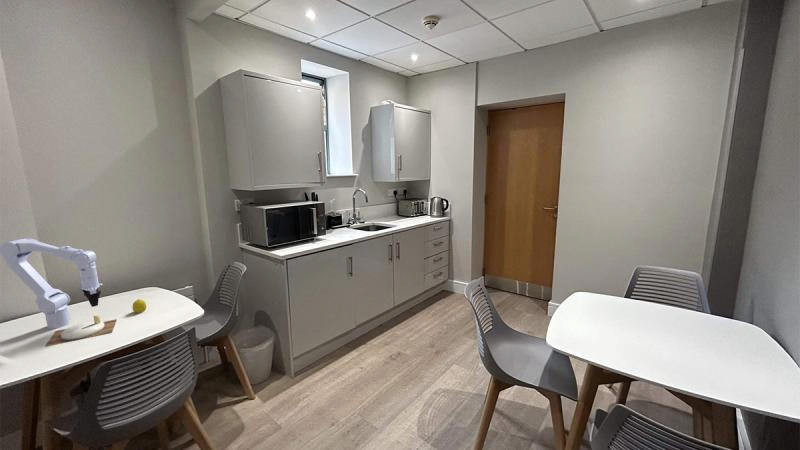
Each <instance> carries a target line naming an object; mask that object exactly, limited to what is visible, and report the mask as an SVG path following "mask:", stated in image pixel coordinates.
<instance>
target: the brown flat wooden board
mask: <svg viewBox="0 0 800 450" xmlns="http://www.w3.org/2000/svg"><path fill="white" fill-rule="evenodd" d="M117 320H118V319H117V318H115V319H112V320H106V321H102V322H103V323H104V326H105V327H104V329H103V330H102V331H100V332H98V333H96V334H94V335H91V336H88V337H84V338H80V339H74V340H64V339H62V338H61V332H63V331H64V330H66V329H67V328H63V329H60V330H55V331H54V333H53V334H52V336H50V338H49V339H48V341H47V343H45V345H44V348H46V347H47V348H48V347H51V346H52V347H53V346H55V345H61V344H65V343H70V342H71V343H72V342H76V341H81V340H84V339H89V338H94V337H95V338H96V337H99V336H106V335H108V334H110V335H111V334H113V331H114V328H115V326H116V324H117Z"/></svg>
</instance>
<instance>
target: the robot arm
mask: <svg viewBox="0 0 800 450" xmlns="http://www.w3.org/2000/svg"><path fill="white" fill-rule="evenodd" d="M32 252H37V253H44V254H50V255H55V257H56V259H60V260H65V261H68V262H72V263H74V264H75V265H76V266H77V269H78V272H79V273H78V274H79V278H80V282H81V290H82V291H81V292H82V293H83V295H84V296H85V297H86V298H87V300H88V302H89V305H90V306H91V307H92V308H93V307H94V308H95V307H97V306H99V298H100V295H101V293H102V291H101V290H99V287H101V286H103V283H100V282H99V277H98V272H97V265H96V261H97V259H98V255H97V254H98V253H96V252H95V251H94V250H91V249H87V250H83V249H80V248H79V249H78V248H73V247H72V246H70V245H66V246H65V245H64V246H61V247H58V246H54V245H51V244H48V243H45V242H41V241H38V240H37V239H34V238H29V237H23V238H20V239H19V238H18V239H15V240H11V241H5V242H2V243H1V244H0V255H1V257H3V260H4V262H5V264H6V266H7V267H8V268H9V269H10V270H11V271H12V272H13V273H14V274H15V275H16V276H17V278H19V279H20V280H21V281H22V282H23V283H24V284H25V286H27V287H28V289H30V290H31V292H33V293H34V294H35V295H36V299H35V301H34V302H35V303H36V304H37V306H38V307H37V308H38V310H39V311H40V312H42V313H43V315H44V317H45V322H46V327H47V329H48V330H52V329H54V330H55V329H59V328H62V327H65V326H68V325H69V324H71V323H70V321H71V314H70V309H69V308H68V306H69V305H68V304H70V302H71V297H70V296H69V294H68V293H65V292H63V291H62V290H61V289H58V288H53V287H52V286H51V285H50V284H49V283H48V282H47V281H46V279H45V278H43V277H42V276H41V275H40V273H39V272H37V270H35V268H34V267H33V266H32V265H31V264H30V263H29V262H28V258H29V256H30V255H31V253H32Z"/></svg>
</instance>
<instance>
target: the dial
mask: <svg viewBox="0 0 800 450" xmlns="http://www.w3.org/2000/svg"><path fill="white" fill-rule="evenodd" d="M103 322H104V321H101V317H100V315H99V314H96V315H93V321H88V322H82V323H80V324H79V323H78V324H76V325H72V326H70V327H67V328H65V329H66V330H64V331H63V332H61V338H62V339H64V340H74V339H80V338H84V337H88V336H91V335H94V334H96V333H98V332H100V331H102V330H103V329H104V327H105V326H104V323H103Z"/></svg>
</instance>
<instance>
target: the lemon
mask: <svg viewBox="0 0 800 450" xmlns="http://www.w3.org/2000/svg"><path fill="white" fill-rule="evenodd" d="M146 309H147V303H146V302H145V300H143V299H139V298H138V299H136V300H135V301H134V302H133V303H132V311H133V312H134V313H135V314H140V313H141V314H143V313H144V312H145V311H146Z"/></svg>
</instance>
